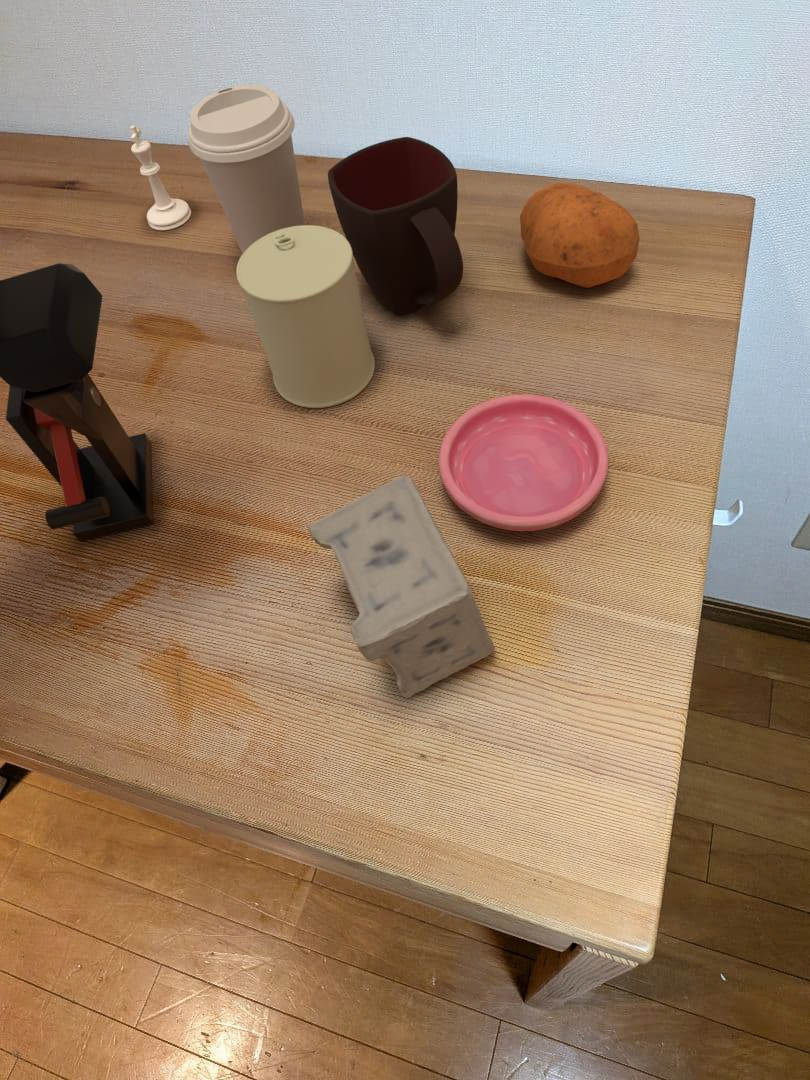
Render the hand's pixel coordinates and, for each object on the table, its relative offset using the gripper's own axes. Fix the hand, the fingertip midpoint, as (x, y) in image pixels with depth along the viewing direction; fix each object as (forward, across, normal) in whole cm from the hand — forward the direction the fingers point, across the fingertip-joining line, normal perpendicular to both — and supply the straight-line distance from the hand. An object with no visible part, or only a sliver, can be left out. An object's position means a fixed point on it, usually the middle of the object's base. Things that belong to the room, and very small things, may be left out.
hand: (33, 450), depth 46 cm
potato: (+22, -37, -26) cm, 50 cm away
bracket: (+14, +4, -6) cm, 16 cm away
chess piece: (+18, +4, -45) cm, 48 cm away
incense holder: (+16, -19, +10) cm, 27 cm away
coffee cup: (+19, -9, -34) cm, 40 cm away
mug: (+20, -22, -24) cm, 38 cm away
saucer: (+18, -29, -2) cm, 34 cm away
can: (+18, -14, -17) cm, 28 cm away
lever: (+7, +3, -4) cm, 8 cm away
